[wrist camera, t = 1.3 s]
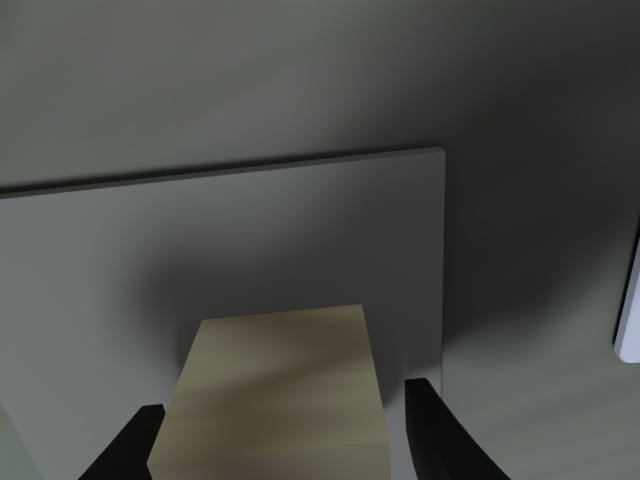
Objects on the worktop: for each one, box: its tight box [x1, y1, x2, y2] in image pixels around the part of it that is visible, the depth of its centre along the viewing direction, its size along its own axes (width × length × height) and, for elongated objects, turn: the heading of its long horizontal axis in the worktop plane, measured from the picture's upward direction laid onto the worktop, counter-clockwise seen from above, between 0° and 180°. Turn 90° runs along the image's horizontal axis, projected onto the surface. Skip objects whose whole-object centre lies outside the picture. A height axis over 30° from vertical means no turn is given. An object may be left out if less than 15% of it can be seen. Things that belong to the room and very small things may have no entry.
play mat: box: [0, 146, 446, 480], centre depth 17 cm, size 15×24×1 cm, turn 6°
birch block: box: [146, 304, 391, 480], centre depth 12 cm, size 5×5×5 cm
